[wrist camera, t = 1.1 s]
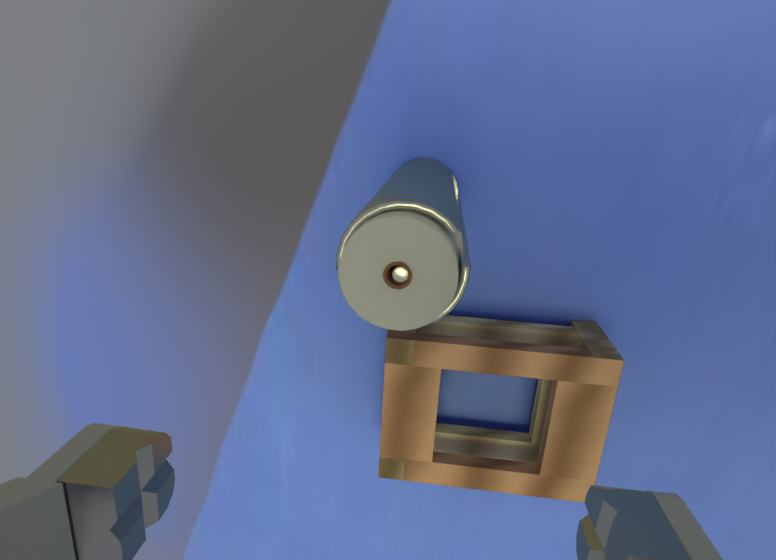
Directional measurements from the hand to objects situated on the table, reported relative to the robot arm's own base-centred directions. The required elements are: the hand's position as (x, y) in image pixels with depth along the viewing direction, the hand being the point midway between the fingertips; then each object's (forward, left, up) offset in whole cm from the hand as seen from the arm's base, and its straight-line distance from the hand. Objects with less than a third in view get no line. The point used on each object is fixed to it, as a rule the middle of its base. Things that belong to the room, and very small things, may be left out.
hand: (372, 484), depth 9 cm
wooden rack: (-7, +19, -38) cm, 44 cm away
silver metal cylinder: (+1, 0, -39) cm, 39 cm away
